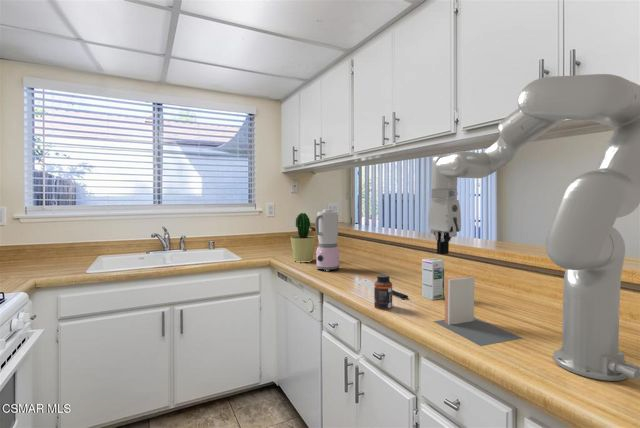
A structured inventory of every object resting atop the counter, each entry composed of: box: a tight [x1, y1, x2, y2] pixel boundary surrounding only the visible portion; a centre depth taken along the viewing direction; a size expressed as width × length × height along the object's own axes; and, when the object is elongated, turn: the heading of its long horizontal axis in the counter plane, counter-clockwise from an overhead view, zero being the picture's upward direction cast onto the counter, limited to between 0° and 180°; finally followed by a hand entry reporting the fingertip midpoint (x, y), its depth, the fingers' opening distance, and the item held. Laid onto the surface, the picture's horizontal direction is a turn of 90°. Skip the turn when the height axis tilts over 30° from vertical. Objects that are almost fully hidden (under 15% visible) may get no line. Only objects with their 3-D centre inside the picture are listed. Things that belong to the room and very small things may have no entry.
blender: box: [315, 209, 340, 272], centre depth 177 cm, size 16×12×32 cm
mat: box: [433, 316, 523, 347], centre depth 93 cm, size 18×14×1 cm
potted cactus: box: [290, 212, 317, 261], centre depth 203 cm, size 15×15×30 cm
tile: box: [444, 275, 475, 325], centre depth 98 cm, size 2×9×13 cm, turn 109°
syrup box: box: [421, 257, 445, 301], centre depth 125 cm, size 6×6×14 cm
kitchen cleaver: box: [354, 278, 409, 301], centre depth 137 cm, size 31×2×10 cm
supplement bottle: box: [373, 273, 393, 311], centre depth 113 cm, size 6×6×11 cm
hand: (442, 253), depth 105 cm, fingers closed
